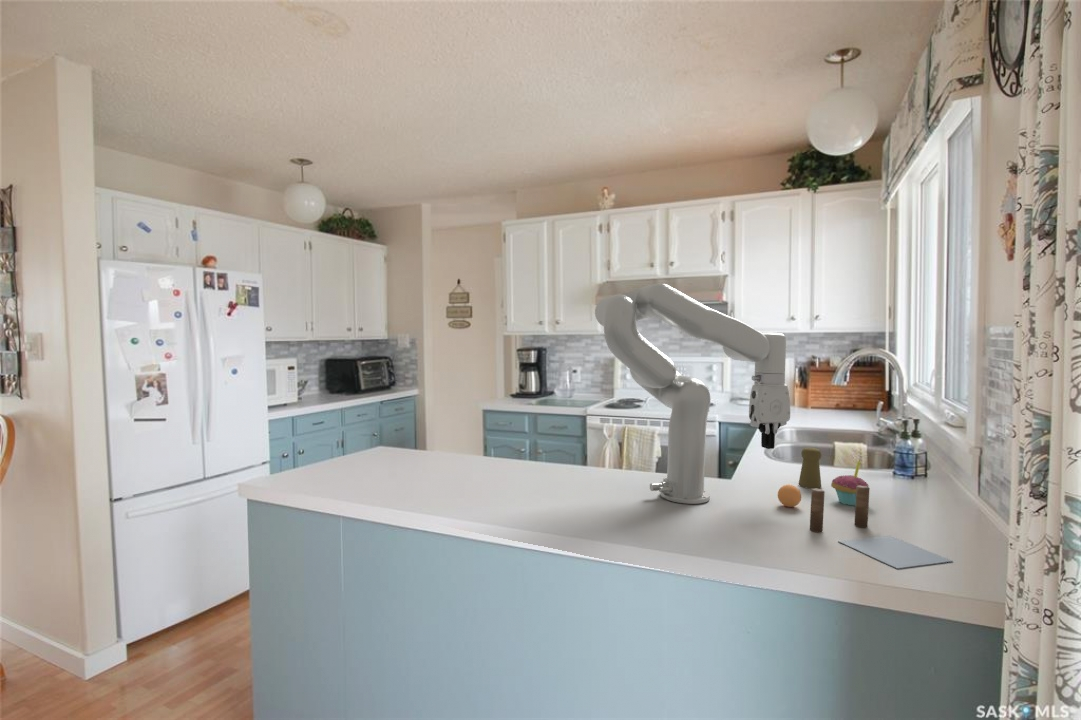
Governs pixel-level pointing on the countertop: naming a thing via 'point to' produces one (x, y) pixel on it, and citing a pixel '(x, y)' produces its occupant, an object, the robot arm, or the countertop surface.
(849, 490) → the cupcake
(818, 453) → the cork
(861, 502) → the post
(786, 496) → the ball
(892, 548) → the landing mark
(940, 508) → the countertop surface
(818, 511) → the post
